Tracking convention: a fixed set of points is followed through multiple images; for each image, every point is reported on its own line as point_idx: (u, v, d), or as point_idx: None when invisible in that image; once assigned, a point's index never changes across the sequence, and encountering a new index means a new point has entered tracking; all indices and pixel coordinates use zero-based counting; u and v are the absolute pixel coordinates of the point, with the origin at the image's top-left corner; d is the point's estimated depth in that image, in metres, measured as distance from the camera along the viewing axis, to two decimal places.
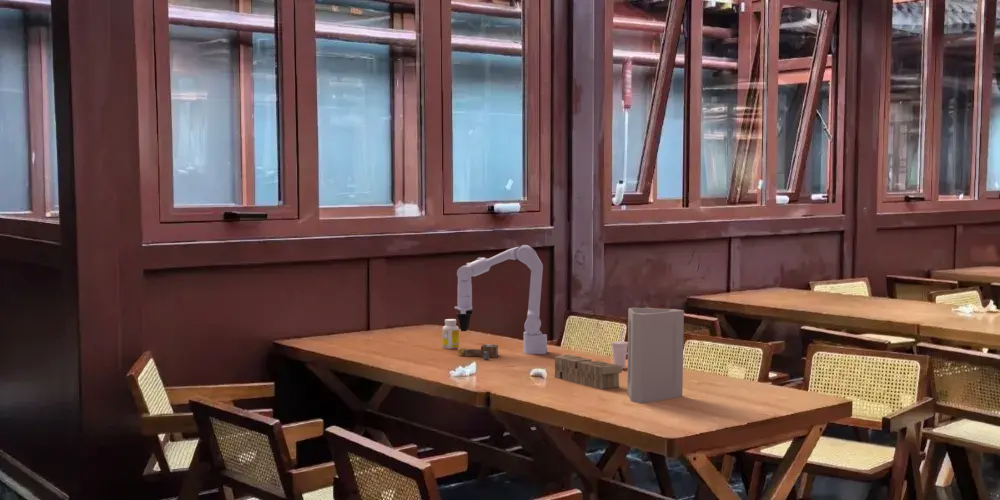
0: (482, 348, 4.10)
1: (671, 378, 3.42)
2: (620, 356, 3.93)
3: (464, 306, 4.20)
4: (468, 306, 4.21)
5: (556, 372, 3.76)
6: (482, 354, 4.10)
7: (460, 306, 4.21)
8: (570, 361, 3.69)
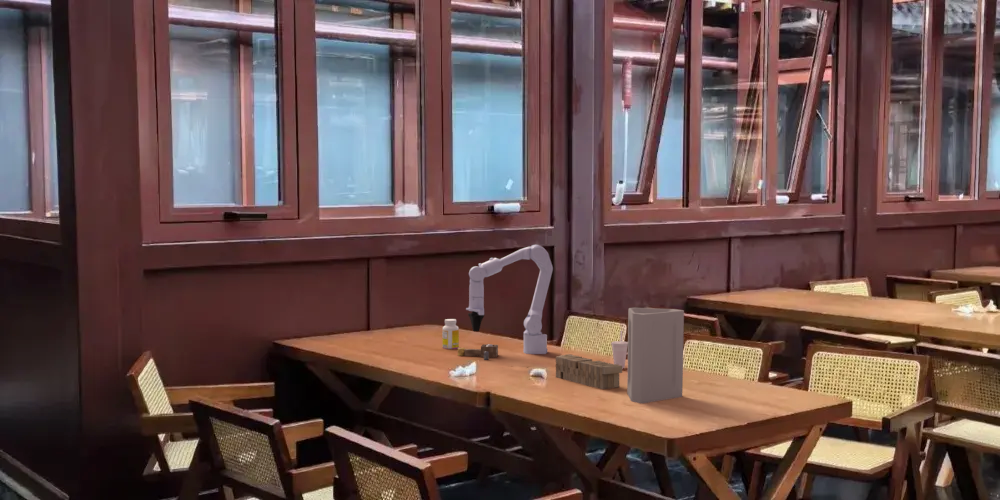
0: (482, 348, 4.10)
1: (671, 378, 3.42)
2: (620, 356, 3.93)
3: (478, 307, 4.16)
4: (482, 307, 4.17)
5: (557, 371, 3.76)
6: (482, 354, 4.10)
7: (474, 307, 4.16)
8: (571, 361, 3.70)
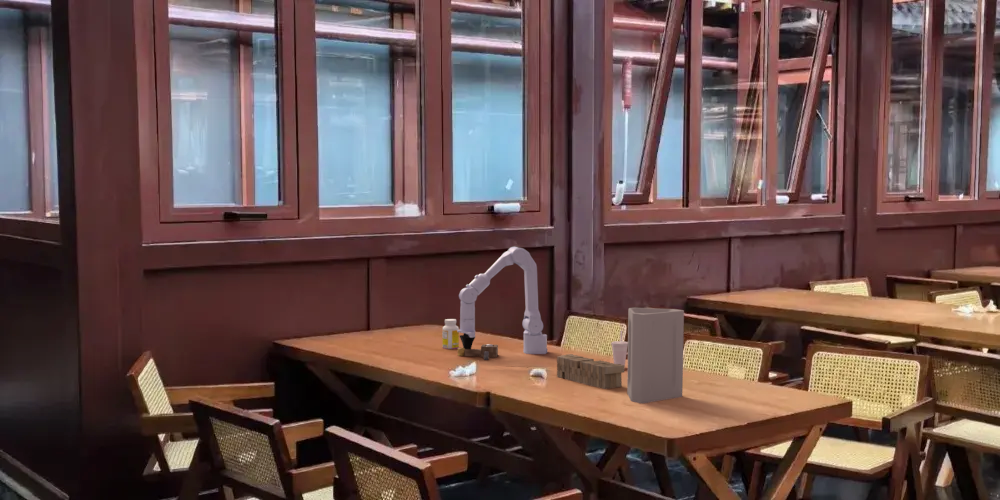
0: (482, 348, 4.10)
1: (671, 378, 3.42)
2: (620, 356, 3.93)
3: (469, 329, 4.13)
4: (473, 329, 4.14)
5: (559, 371, 3.77)
6: (482, 354, 4.10)
7: (465, 329, 4.13)
8: (572, 361, 3.70)
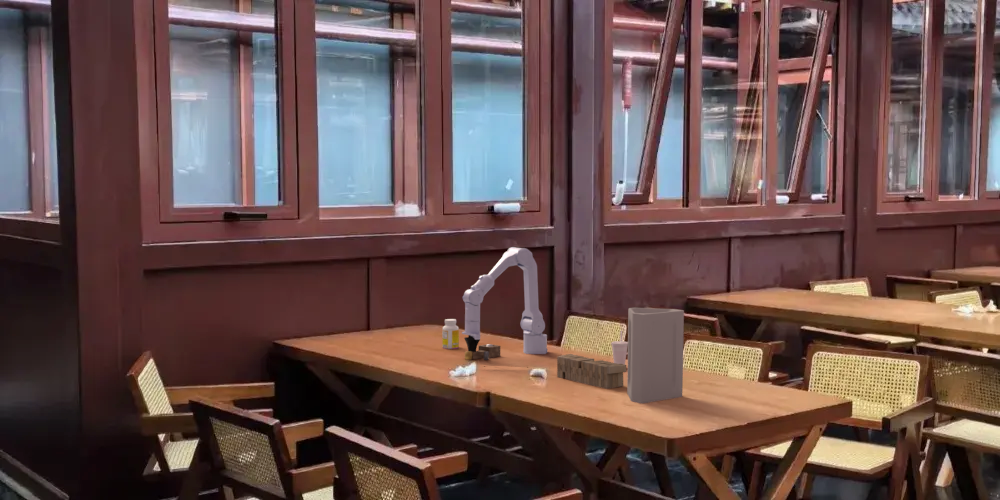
0: (490, 348, 4.09)
1: (671, 378, 3.42)
2: (620, 356, 3.93)
3: (474, 331, 4.06)
4: (478, 331, 4.07)
5: (559, 371, 3.77)
6: (490, 354, 4.09)
7: (470, 331, 4.06)
8: (573, 361, 3.70)
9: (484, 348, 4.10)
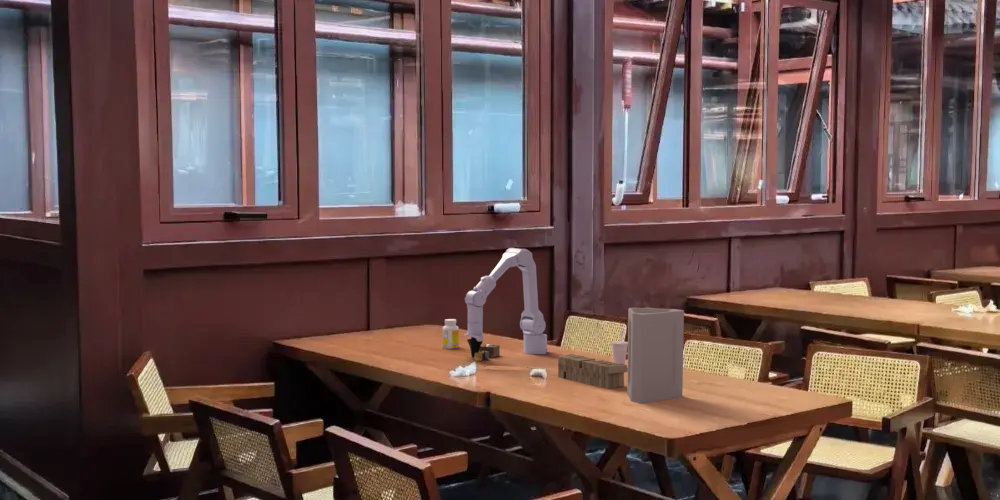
0: (494, 348, 4.09)
1: (671, 378, 3.42)
2: (620, 356, 3.93)
3: (477, 333, 4.03)
4: (481, 333, 4.04)
5: (560, 371, 3.77)
6: (494, 354, 4.09)
7: (473, 333, 4.03)
8: (574, 361, 3.70)
9: (487, 348, 4.10)
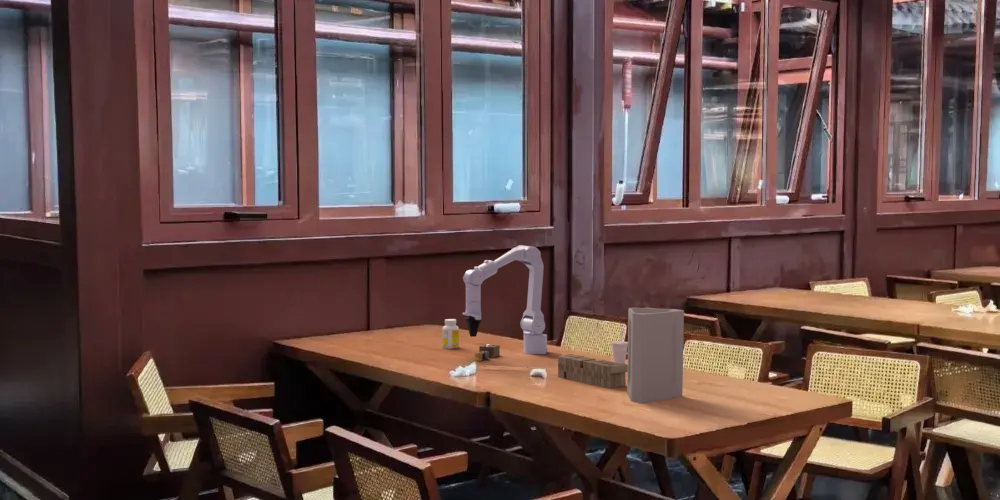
0: (494, 348, 4.09)
1: (671, 378, 3.42)
2: (620, 356, 3.93)
3: (475, 312, 4.05)
4: (479, 311, 4.06)
5: (560, 371, 3.77)
6: (494, 354, 4.09)
7: (471, 312, 4.05)
8: (575, 361, 3.70)
9: (487, 348, 4.10)
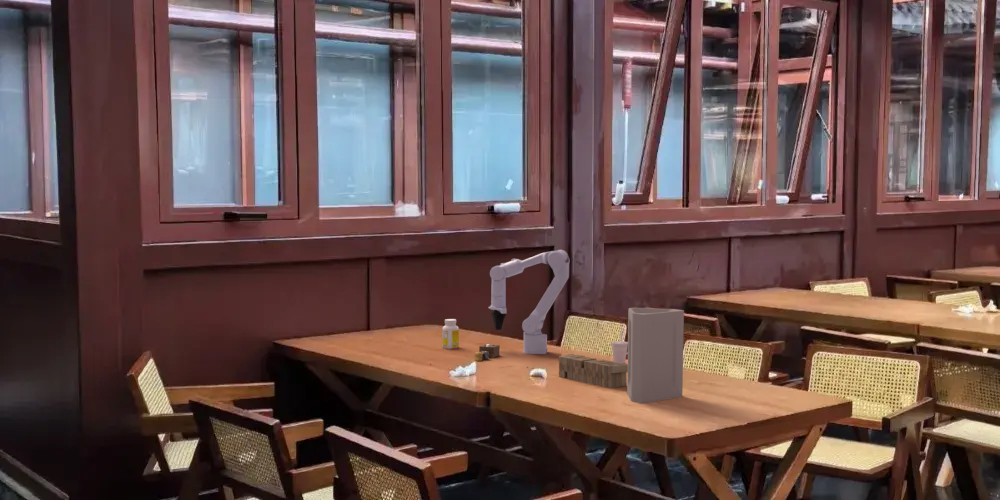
0: (494, 348, 4.09)
1: (671, 378, 3.42)
2: (620, 356, 3.93)
3: (501, 306, 4.23)
4: (504, 306, 4.24)
5: (561, 371, 3.77)
6: (494, 354, 4.09)
7: (496, 306, 4.23)
8: (576, 360, 3.71)
9: (487, 348, 4.10)
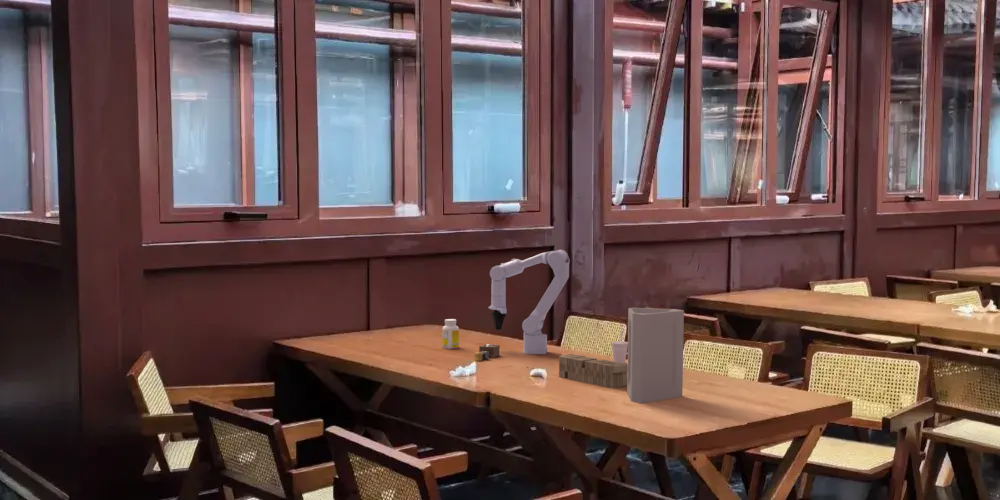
0: (494, 348, 4.09)
1: (671, 378, 3.42)
2: (620, 356, 3.93)
3: (501, 306, 4.23)
4: (504, 306, 4.24)
5: (561, 371, 3.77)
6: (494, 354, 4.09)
7: (496, 306, 4.23)
8: (576, 360, 3.71)
9: (487, 348, 4.10)
